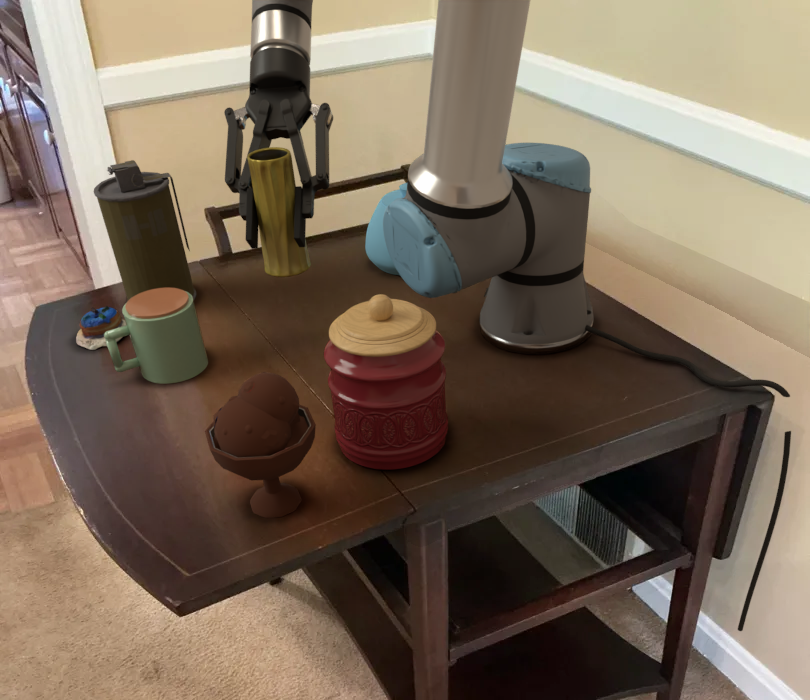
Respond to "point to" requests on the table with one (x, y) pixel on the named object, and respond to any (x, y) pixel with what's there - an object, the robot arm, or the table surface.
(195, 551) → the table surface
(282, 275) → the vase
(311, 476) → the table surface
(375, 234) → the sugar bowl
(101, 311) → the dessert
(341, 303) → the table surface
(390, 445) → the kitchen canister
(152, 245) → the canister
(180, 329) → the mug
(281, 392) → the ice cream bowl
